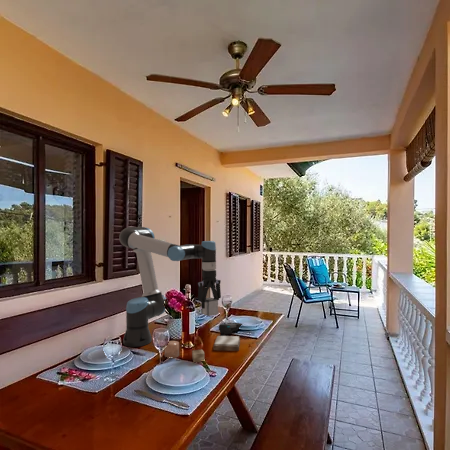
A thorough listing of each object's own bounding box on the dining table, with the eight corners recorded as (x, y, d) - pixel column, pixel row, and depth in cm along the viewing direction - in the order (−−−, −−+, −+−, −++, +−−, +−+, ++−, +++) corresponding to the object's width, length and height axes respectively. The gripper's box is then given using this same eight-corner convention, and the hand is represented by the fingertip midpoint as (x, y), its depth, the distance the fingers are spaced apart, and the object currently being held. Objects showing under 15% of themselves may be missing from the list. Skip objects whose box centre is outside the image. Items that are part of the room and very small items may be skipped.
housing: (201, 313, 166) (201, 298, 166) (210, 311, 170) (210, 296, 170) (209, 316, 161) (208, 300, 161) (218, 314, 165) (218, 299, 165)
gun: (216, 337, 177) (219, 319, 180) (234, 339, 192) (237, 322, 195) (223, 338, 174) (226, 320, 177) (240, 340, 190) (243, 323, 193)
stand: (213, 350, 159) (213, 344, 159) (216, 340, 172) (216, 335, 172) (238, 350, 158) (238, 345, 158) (240, 341, 171) (240, 336, 171)
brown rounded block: (162, 358, 150) (162, 345, 150) (167, 352, 157) (167, 340, 157) (177, 358, 149) (176, 346, 149) (180, 353, 156) (180, 341, 156)
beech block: (193, 363, 144) (193, 354, 144) (192, 358, 149) (192, 350, 149) (204, 361, 146) (204, 353, 146) (202, 357, 150) (202, 349, 151)
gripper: (198, 272, 157) (198, 318, 157) (227, 268, 169) (228, 311, 168) (190, 270, 163) (190, 315, 162) (219, 267, 175) (219, 308, 174)
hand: (209, 313), depth 165 cm, fingers closed on housing, 6 cm apart
